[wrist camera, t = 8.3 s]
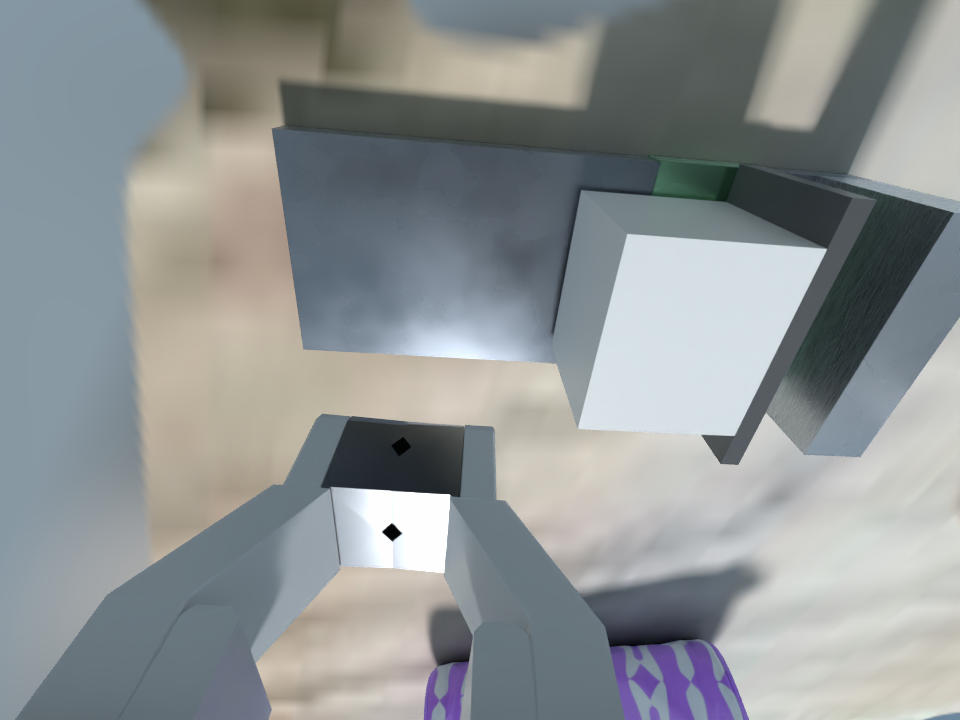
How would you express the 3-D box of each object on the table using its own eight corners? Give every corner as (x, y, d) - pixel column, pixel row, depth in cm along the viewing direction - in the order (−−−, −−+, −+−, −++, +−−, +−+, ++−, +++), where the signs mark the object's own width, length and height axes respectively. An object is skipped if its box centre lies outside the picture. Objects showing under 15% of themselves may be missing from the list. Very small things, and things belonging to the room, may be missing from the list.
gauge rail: (849, 173, 16) (1030, 216, 11) (758, 361, 21) (859, 458, 15) (284, 123, 15) (187, 146, 10) (312, 336, 19) (254, 432, 14)
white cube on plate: (757, 165, 15) (877, 199, 10) (677, 378, 19) (738, 464, 15) (588, 150, 14) (641, 180, 10) (546, 372, 19) (570, 457, 14)
